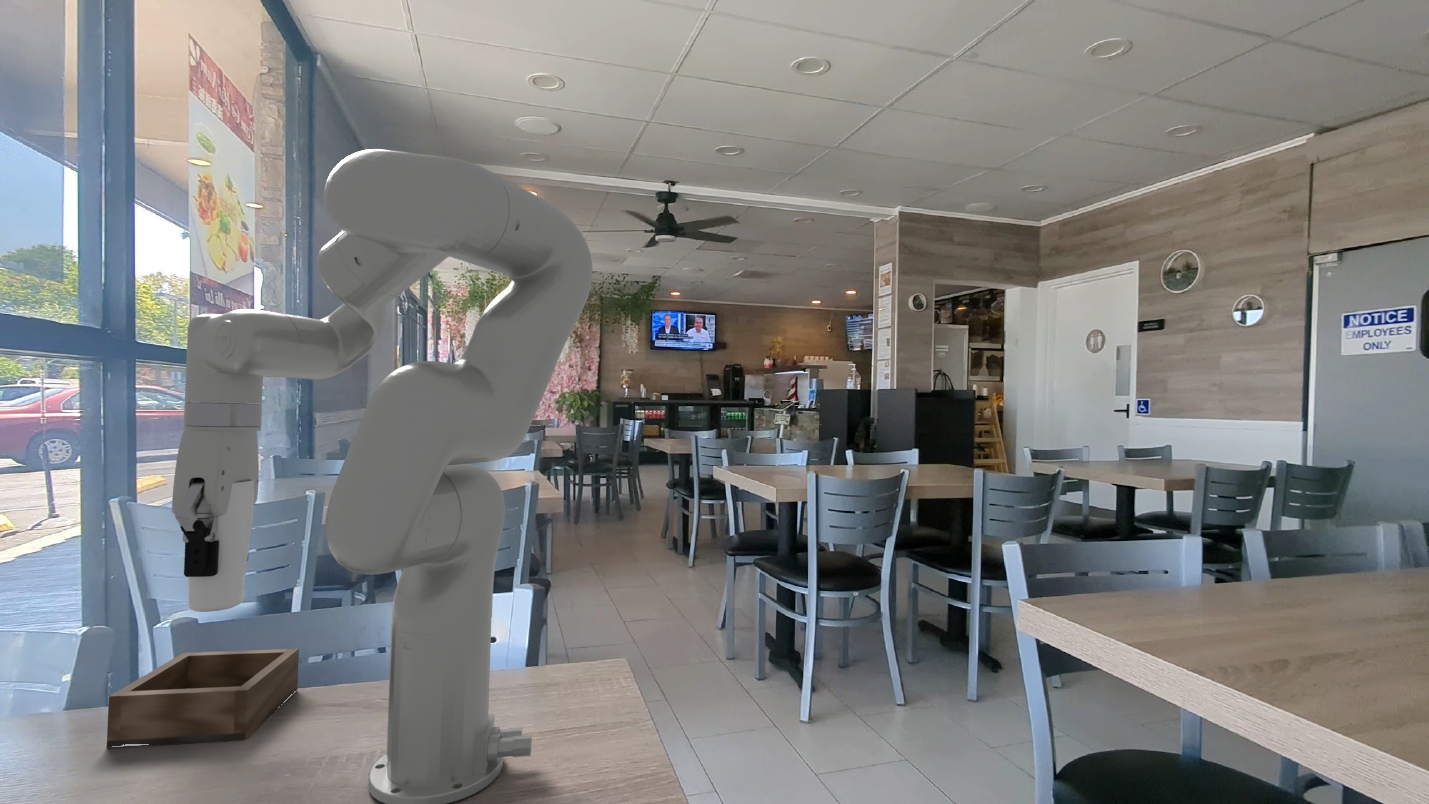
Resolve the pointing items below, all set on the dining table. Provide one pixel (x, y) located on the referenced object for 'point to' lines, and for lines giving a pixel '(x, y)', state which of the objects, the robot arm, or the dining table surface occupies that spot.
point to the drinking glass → (226, 553)
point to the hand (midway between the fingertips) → (217, 567)
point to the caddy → (203, 698)
